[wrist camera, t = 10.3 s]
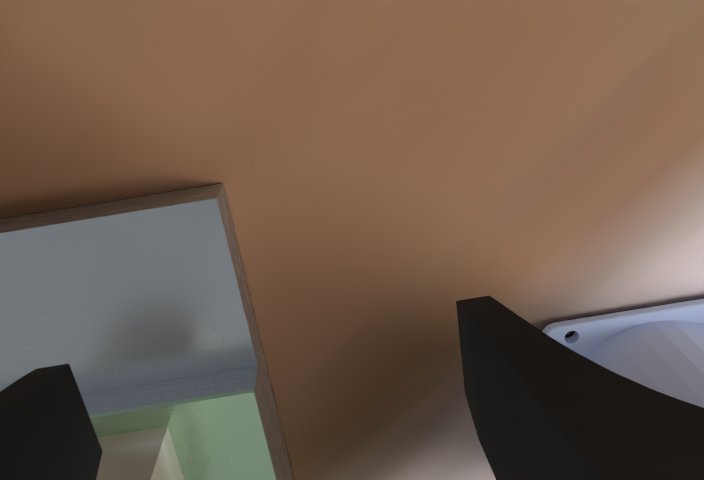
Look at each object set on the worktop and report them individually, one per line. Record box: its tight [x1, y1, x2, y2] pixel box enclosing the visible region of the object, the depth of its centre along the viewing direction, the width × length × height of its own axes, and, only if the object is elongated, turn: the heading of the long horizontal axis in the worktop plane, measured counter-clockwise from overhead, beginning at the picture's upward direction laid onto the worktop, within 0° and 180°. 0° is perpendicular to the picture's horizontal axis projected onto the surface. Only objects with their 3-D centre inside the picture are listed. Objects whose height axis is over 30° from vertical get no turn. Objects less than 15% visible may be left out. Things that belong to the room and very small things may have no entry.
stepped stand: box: [0, 183, 294, 480], centre depth 22 cm, size 10×18×4 cm, turn 8°
